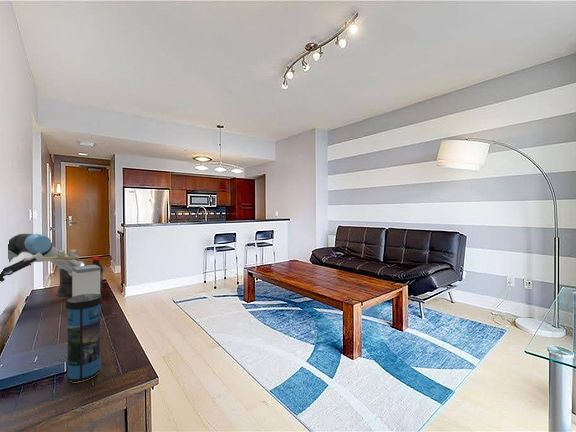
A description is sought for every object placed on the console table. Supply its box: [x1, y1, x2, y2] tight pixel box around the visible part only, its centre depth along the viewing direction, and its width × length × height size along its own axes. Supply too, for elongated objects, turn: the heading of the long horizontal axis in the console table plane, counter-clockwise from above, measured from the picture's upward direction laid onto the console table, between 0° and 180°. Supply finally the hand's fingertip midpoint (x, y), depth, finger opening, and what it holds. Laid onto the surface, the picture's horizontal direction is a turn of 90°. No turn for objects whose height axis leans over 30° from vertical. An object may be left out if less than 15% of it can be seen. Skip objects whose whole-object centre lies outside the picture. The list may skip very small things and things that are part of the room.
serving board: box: [22, 249, 80, 263], centre depth 175 cm, size 4×26×6 cm, turn 138°
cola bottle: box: [91, 256, 104, 297], centre depth 204 cm, size 8×8×30 cm
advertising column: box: [65, 294, 103, 382], centre depth 109 cm, size 11×11×30 cm
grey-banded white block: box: [71, 264, 101, 297], centre depth 177 cm, size 12×12×28 cm
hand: (41, 255), depth 171 cm, fingers closed on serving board, 4 cm apart
